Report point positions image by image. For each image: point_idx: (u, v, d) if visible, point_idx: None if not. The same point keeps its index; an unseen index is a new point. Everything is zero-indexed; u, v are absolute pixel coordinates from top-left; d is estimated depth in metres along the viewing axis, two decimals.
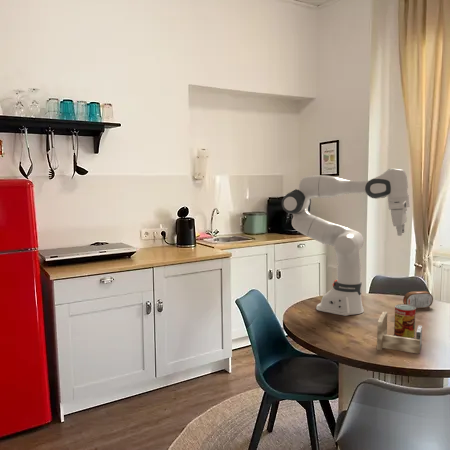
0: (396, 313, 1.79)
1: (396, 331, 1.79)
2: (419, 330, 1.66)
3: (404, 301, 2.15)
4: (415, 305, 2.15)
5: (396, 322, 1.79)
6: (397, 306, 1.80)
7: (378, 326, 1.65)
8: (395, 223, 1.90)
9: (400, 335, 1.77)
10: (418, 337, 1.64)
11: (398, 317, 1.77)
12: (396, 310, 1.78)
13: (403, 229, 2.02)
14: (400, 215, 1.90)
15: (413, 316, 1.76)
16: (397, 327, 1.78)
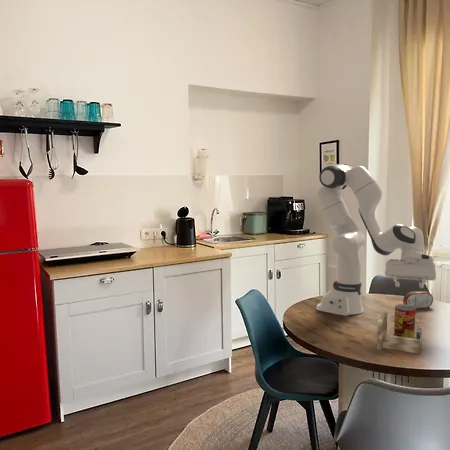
0: (396, 313, 1.79)
1: (396, 331, 1.79)
2: (419, 330, 1.66)
3: (404, 301, 2.15)
4: (415, 305, 2.15)
5: (396, 322, 1.79)
6: (397, 306, 1.80)
7: (378, 326, 1.65)
8: (435, 275, 1.83)
9: (400, 335, 1.77)
10: (418, 337, 1.64)
11: (398, 317, 1.77)
12: (396, 310, 1.78)
13: None
14: None
15: (413, 316, 1.76)
16: (397, 327, 1.78)
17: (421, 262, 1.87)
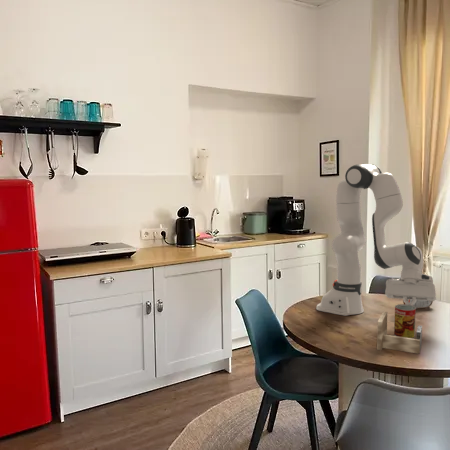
0: (396, 313, 1.79)
1: (396, 331, 1.79)
2: (419, 330, 1.66)
3: None
4: (415, 305, 2.15)
5: (396, 322, 1.79)
6: (397, 306, 1.80)
7: (378, 326, 1.65)
8: (435, 296, 1.84)
9: (400, 335, 1.77)
10: (418, 337, 1.64)
11: (398, 317, 1.77)
12: (396, 310, 1.78)
13: (409, 304, 1.87)
14: None
15: (413, 316, 1.76)
16: (397, 327, 1.78)
17: (421, 282, 1.88)
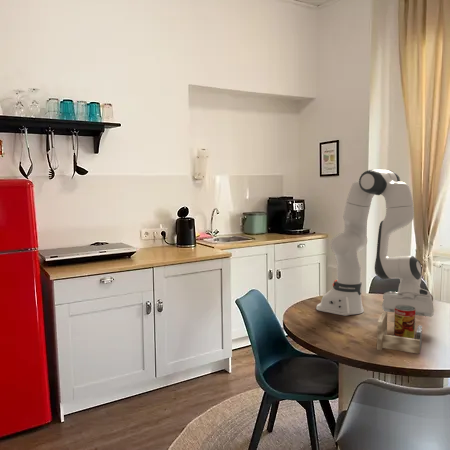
0: (396, 314, 1.78)
1: (396, 332, 1.78)
2: (419, 330, 1.66)
3: None
4: None
5: (396, 323, 1.78)
6: (397, 306, 1.80)
7: (378, 326, 1.65)
8: (433, 312, 1.81)
9: (400, 336, 1.77)
10: (418, 337, 1.64)
11: (398, 317, 1.77)
12: (396, 310, 1.78)
13: None
14: None
15: (413, 317, 1.75)
16: (397, 328, 1.78)
17: (419, 297, 1.85)
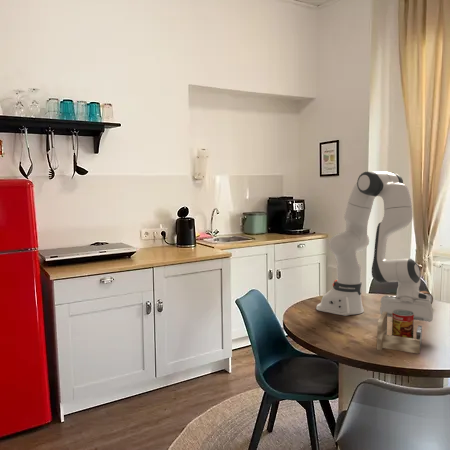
0: (393, 318, 1.72)
1: None
2: (419, 330, 1.66)
3: None
4: None
5: (393, 328, 1.72)
6: (395, 311, 1.74)
7: (378, 326, 1.65)
8: (432, 316, 1.75)
9: None
10: (418, 337, 1.64)
11: (396, 322, 1.71)
12: (393, 315, 1.72)
13: None
14: None
15: (411, 322, 1.69)
16: (394, 333, 1.72)
17: (418, 302, 1.79)
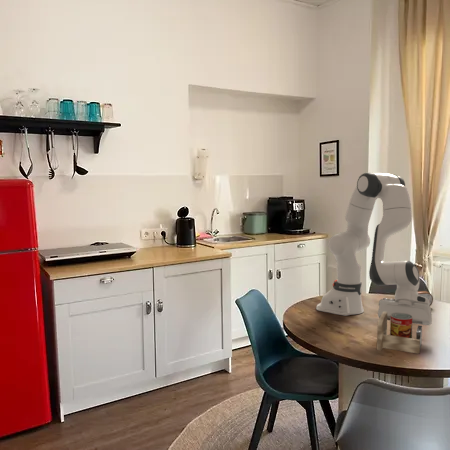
0: (392, 322, 1.68)
1: None
2: (419, 330, 1.66)
3: None
4: None
5: (392, 332, 1.68)
6: (393, 314, 1.70)
7: (378, 326, 1.65)
8: (431, 320, 1.71)
9: None
10: (418, 337, 1.64)
11: (394, 326, 1.67)
12: (392, 319, 1.68)
13: None
14: None
15: (410, 325, 1.65)
16: None
17: (416, 305, 1.75)
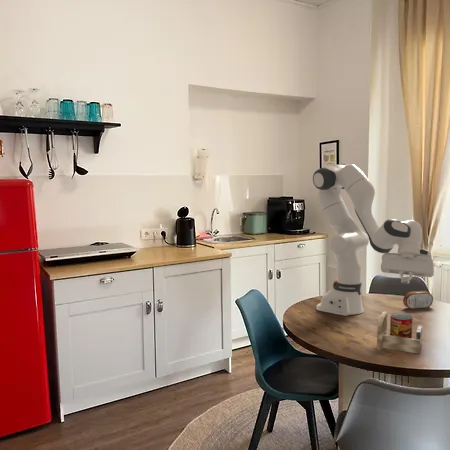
0: (392, 322, 1.68)
1: None
2: (419, 330, 1.66)
3: (404, 301, 2.15)
4: (415, 305, 2.15)
5: (392, 332, 1.68)
6: (393, 315, 1.70)
7: (378, 326, 1.65)
8: (433, 272, 1.74)
9: None
10: (418, 337, 1.64)
11: (394, 326, 1.67)
12: (392, 319, 1.68)
13: None
14: None
15: (410, 325, 1.65)
16: None
17: (419, 257, 1.78)
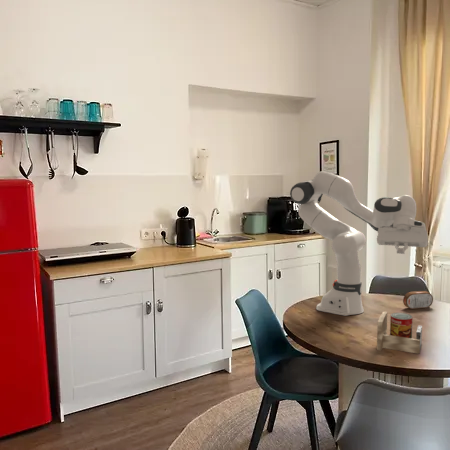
0: (392, 322, 1.68)
1: None
2: (419, 330, 1.66)
3: (404, 301, 2.15)
4: (415, 305, 2.15)
5: (392, 332, 1.68)
6: (393, 315, 1.70)
7: (378, 326, 1.65)
8: (427, 241, 1.81)
9: None
10: (418, 337, 1.64)
11: (394, 326, 1.67)
12: (392, 319, 1.68)
13: None
14: None
15: (410, 325, 1.65)
16: None
17: (413, 229, 1.85)
